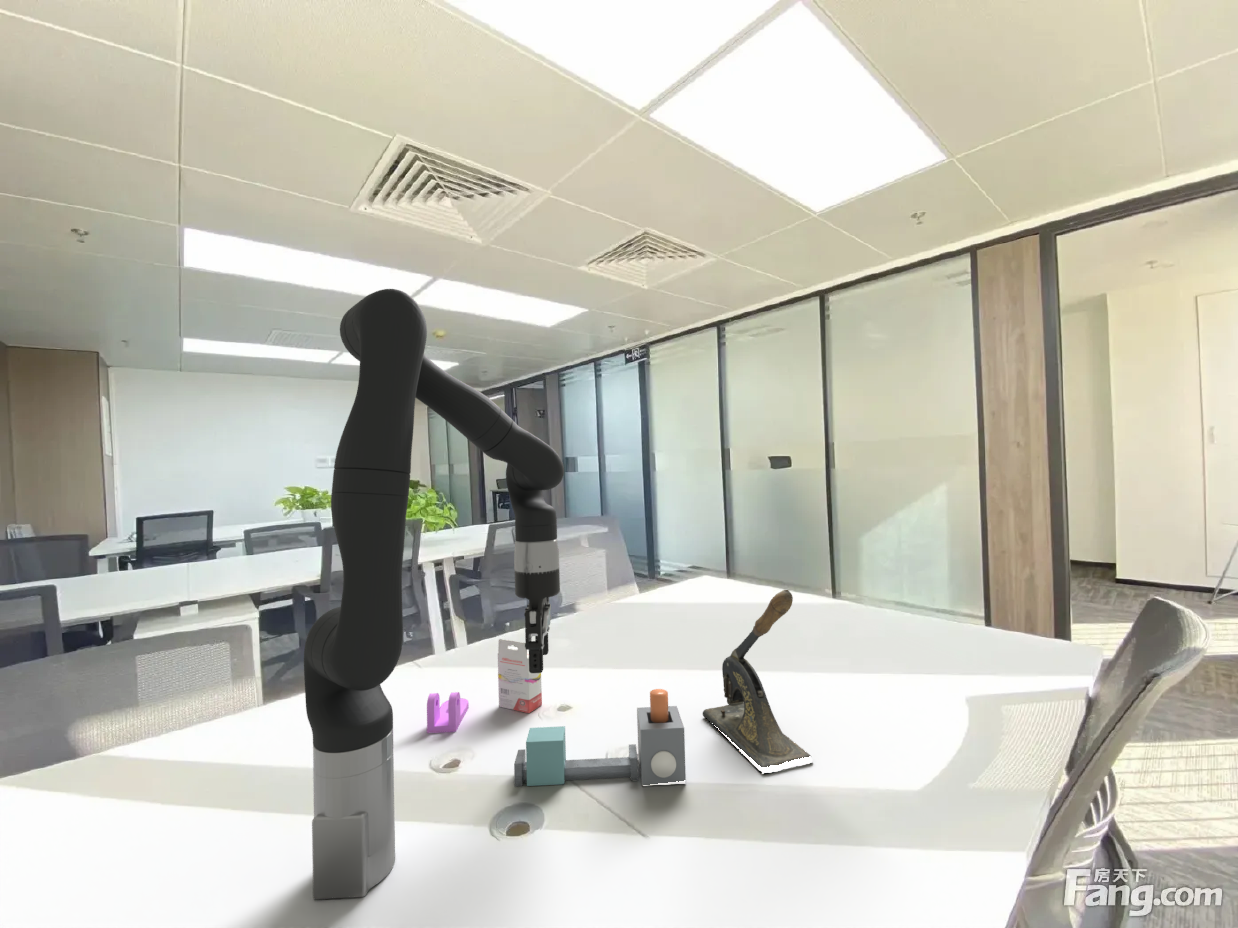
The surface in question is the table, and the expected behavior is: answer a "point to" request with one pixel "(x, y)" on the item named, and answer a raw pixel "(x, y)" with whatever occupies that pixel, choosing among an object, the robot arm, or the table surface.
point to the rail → (587, 767)
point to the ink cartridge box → (517, 678)
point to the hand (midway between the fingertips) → (539, 662)
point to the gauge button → (659, 706)
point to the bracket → (445, 713)
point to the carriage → (545, 756)
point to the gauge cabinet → (661, 747)
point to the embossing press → (753, 699)
